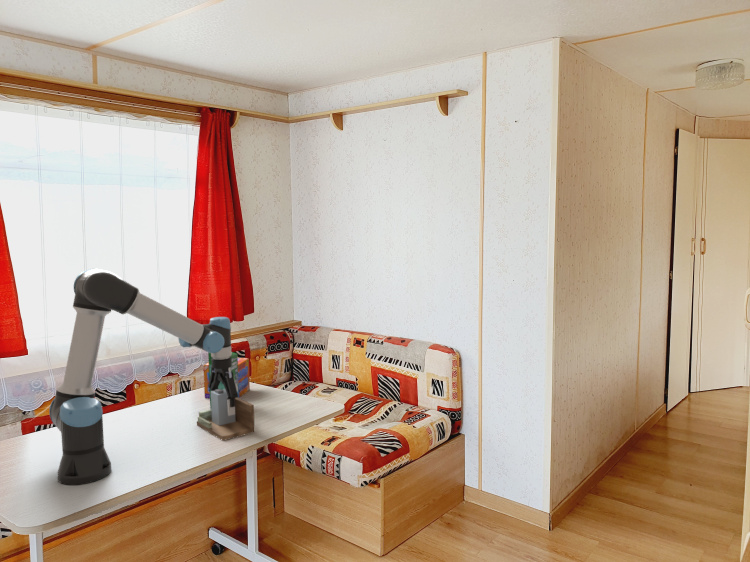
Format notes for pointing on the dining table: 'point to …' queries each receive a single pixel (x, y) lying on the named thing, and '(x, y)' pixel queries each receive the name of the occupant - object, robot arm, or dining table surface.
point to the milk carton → (231, 369)
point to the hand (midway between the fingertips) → (223, 410)
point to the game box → (242, 377)
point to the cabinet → (220, 408)
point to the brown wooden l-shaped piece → (230, 430)
